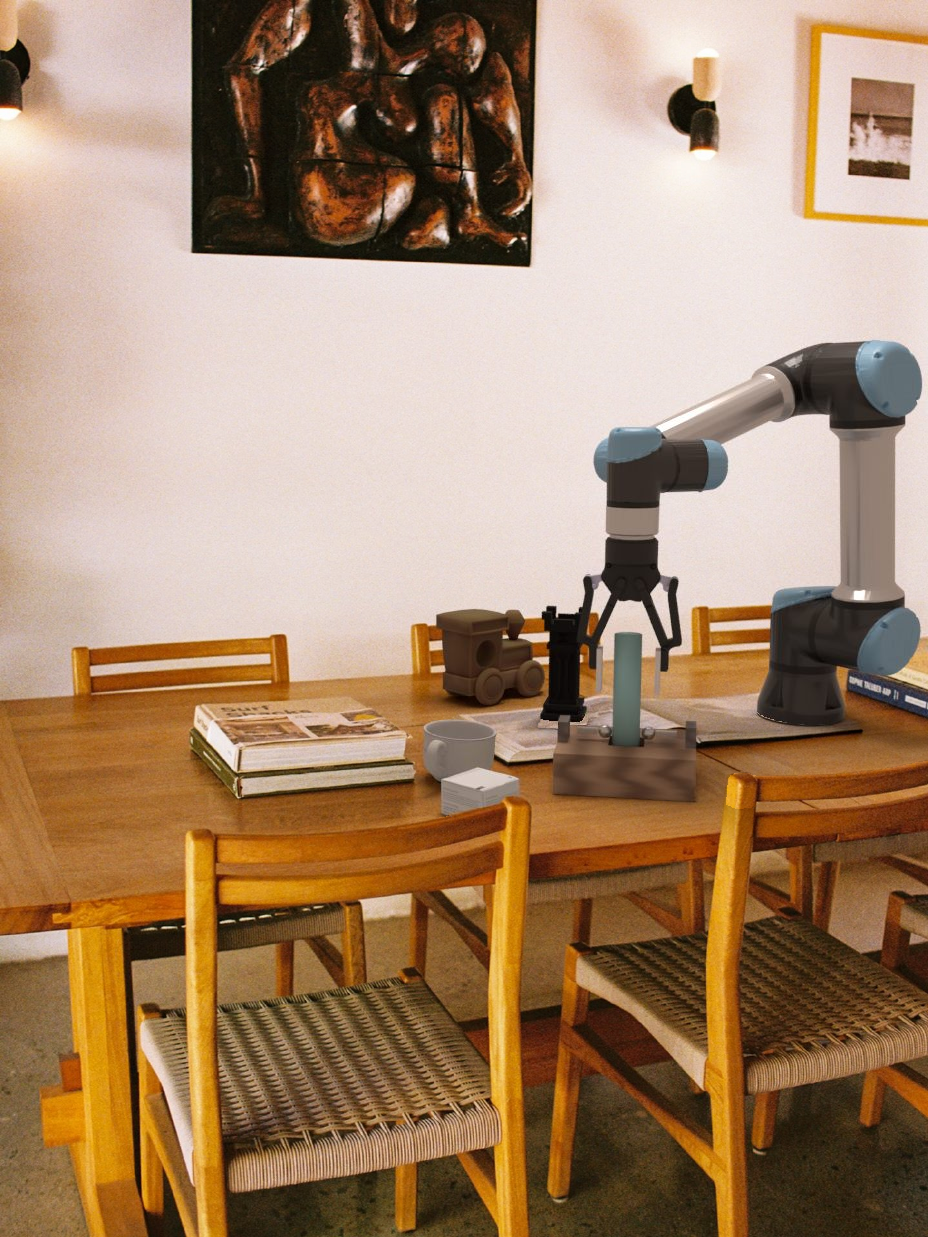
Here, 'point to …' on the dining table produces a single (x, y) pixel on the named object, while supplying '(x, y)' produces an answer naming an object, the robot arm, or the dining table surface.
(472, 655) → the wooden toy train
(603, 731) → the plunger
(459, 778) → the small box
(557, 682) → the chess piece
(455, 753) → the teacup
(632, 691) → the teal peg
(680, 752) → the walnut socket block
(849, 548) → the robot arm
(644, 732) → the plunger
